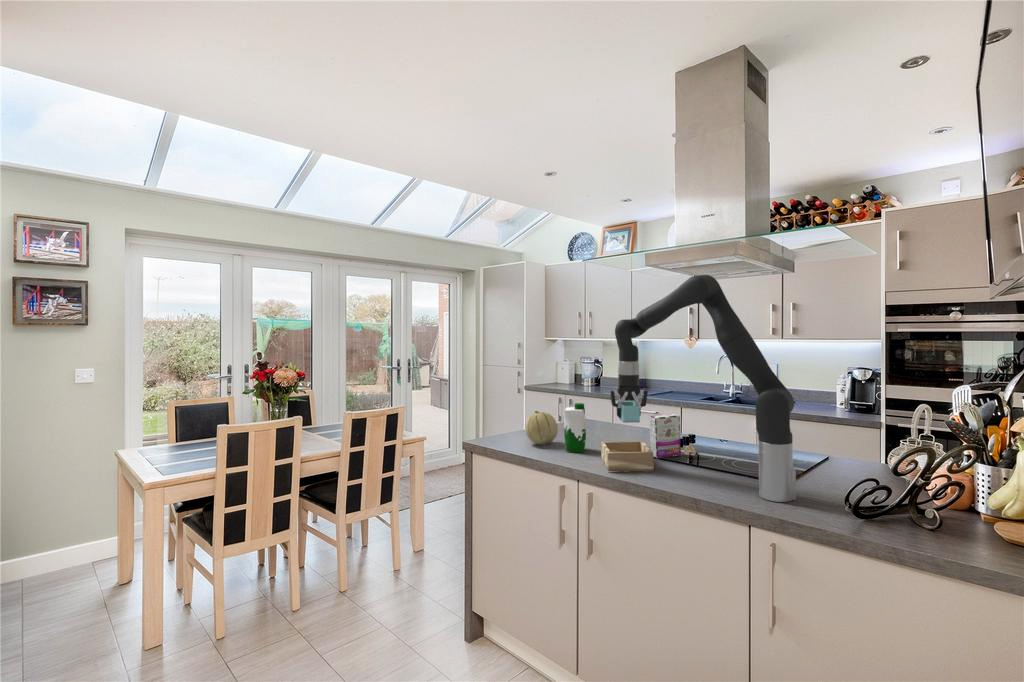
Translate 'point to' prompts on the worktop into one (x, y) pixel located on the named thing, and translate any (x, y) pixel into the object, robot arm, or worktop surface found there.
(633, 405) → the teal crate
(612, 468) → the pine crate
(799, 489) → the worktop surface
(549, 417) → the cantaloupe
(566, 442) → the milk carton
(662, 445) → the candy bar box
